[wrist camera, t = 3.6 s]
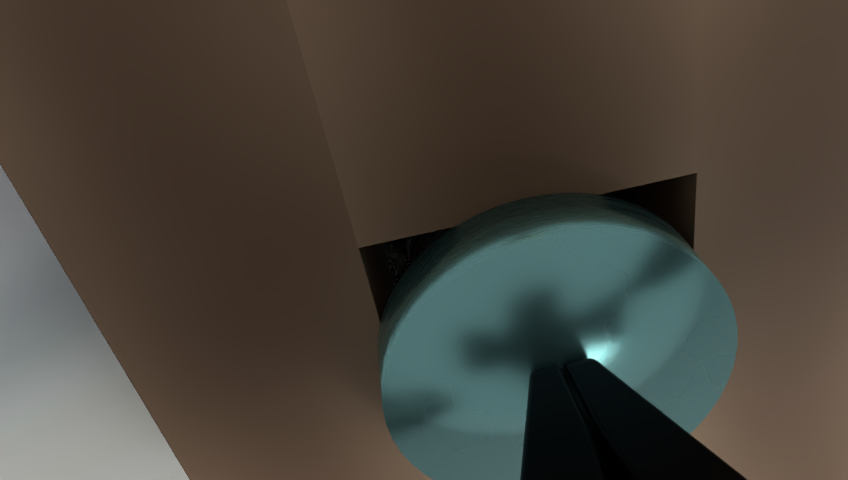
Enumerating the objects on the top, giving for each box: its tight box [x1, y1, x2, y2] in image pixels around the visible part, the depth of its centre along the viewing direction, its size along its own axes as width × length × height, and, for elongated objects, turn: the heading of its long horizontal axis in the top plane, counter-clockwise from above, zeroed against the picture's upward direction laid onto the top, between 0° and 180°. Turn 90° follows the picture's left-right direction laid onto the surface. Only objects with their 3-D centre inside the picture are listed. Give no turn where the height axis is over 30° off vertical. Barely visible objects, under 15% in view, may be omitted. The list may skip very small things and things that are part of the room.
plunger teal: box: [378, 192, 738, 480], centre depth 12 cm, size 5×5×5 cm
